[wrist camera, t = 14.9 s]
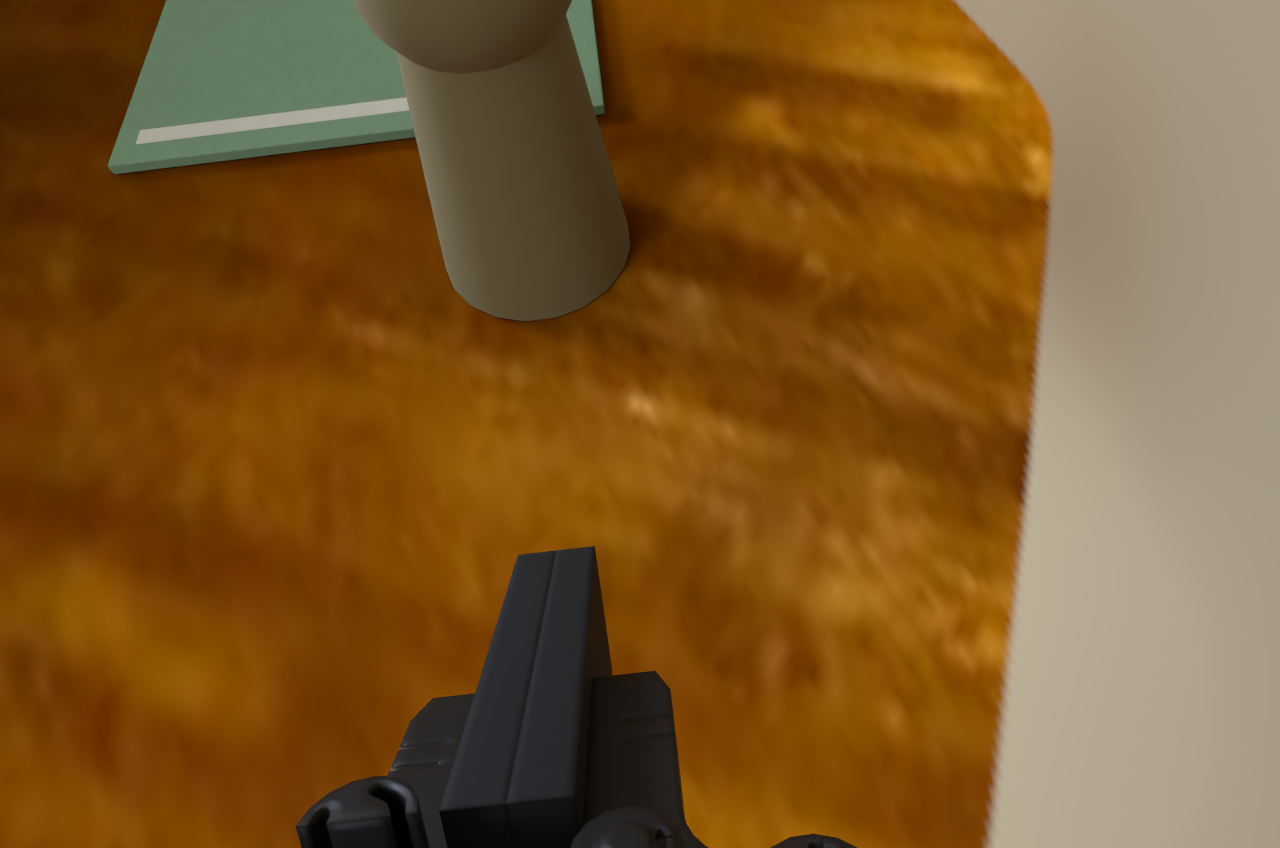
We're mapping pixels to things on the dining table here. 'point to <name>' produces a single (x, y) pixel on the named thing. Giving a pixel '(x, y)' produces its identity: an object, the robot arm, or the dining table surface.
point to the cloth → (276, 82)
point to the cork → (508, 151)
